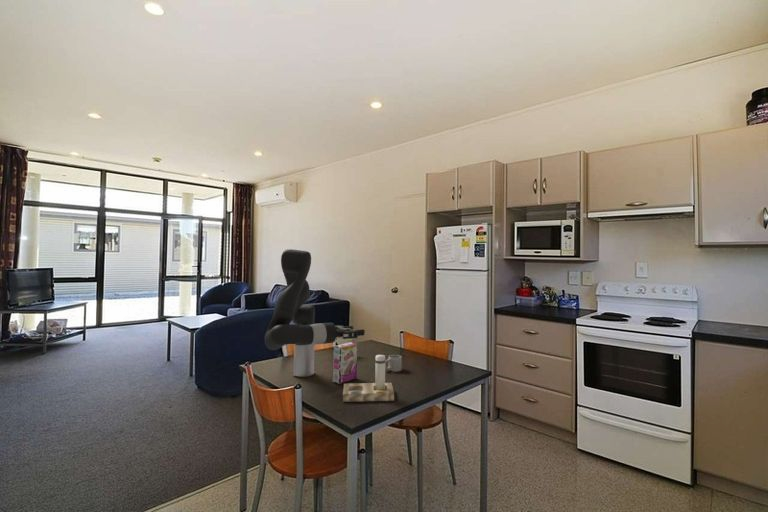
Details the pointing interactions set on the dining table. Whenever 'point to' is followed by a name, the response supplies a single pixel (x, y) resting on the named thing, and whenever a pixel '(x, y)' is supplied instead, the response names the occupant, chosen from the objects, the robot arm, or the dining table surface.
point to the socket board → (367, 392)
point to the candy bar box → (344, 362)
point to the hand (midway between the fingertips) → (358, 330)
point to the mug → (394, 363)
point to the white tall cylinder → (380, 372)
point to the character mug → (342, 340)
